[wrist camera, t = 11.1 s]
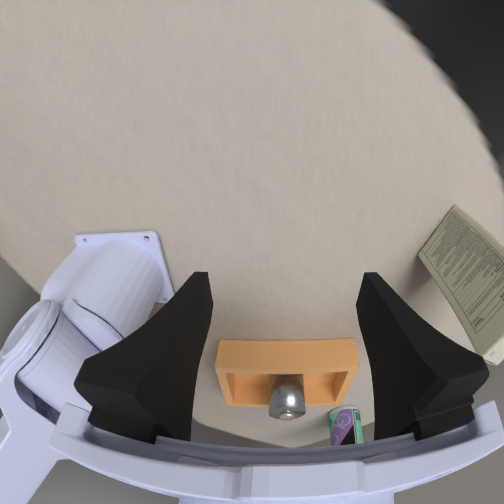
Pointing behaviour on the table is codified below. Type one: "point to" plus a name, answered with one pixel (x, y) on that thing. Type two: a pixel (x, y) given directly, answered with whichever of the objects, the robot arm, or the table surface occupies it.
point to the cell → (286, 396)
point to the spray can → (345, 425)
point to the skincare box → (470, 279)
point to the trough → (286, 369)
